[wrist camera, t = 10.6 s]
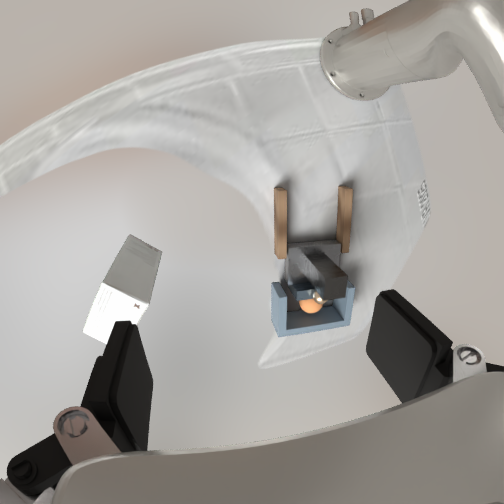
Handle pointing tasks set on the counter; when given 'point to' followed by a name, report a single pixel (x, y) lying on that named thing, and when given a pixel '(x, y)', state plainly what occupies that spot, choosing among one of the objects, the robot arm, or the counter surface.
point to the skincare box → (124, 289)
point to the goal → (310, 314)
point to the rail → (342, 220)
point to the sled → (315, 271)
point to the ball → (310, 305)
